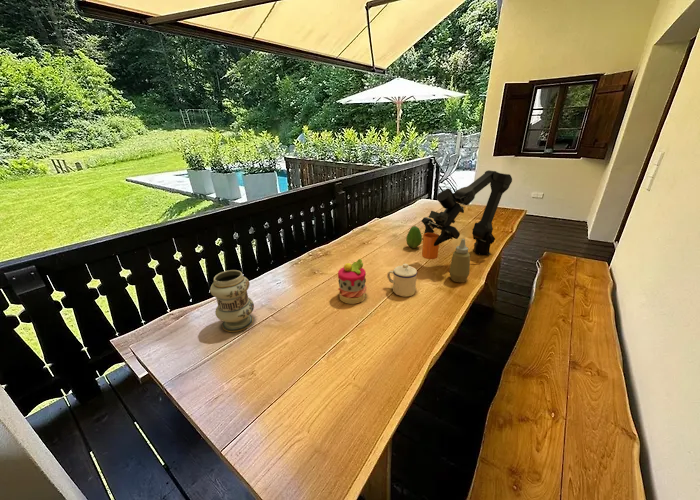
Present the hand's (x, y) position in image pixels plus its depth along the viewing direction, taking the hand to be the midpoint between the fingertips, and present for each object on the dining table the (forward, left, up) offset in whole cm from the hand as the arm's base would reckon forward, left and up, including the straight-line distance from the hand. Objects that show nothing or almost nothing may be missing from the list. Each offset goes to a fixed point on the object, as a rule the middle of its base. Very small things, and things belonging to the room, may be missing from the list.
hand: (428, 243), depth 131 cm
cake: (+33, +24, -13) cm, 43 cm away
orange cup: (-1, -1, -7) cm, 7 cm away
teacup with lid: (+14, +19, -13) cm, 27 cm away
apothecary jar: (+71, +41, -13) cm, 83 cm away
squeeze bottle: (-11, +10, -13) cm, 20 cm away
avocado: (+2, -26, -13) cm, 29 cm away
